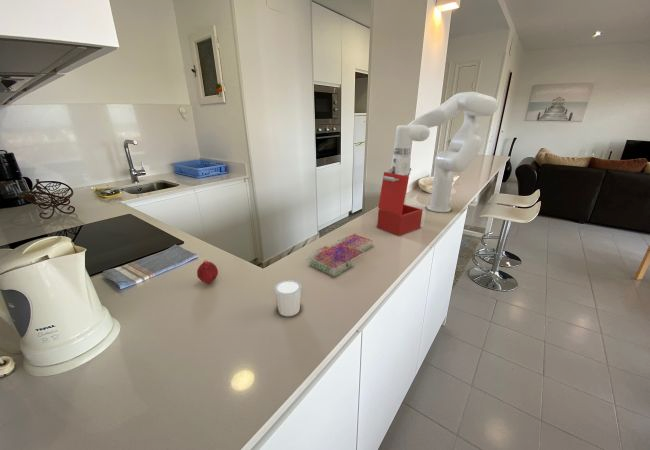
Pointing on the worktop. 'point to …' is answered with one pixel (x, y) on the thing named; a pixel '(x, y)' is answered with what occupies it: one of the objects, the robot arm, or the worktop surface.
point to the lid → (393, 193)
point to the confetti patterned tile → (346, 250)
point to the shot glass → (288, 297)
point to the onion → (207, 271)
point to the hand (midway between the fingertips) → (397, 186)
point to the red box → (400, 220)
